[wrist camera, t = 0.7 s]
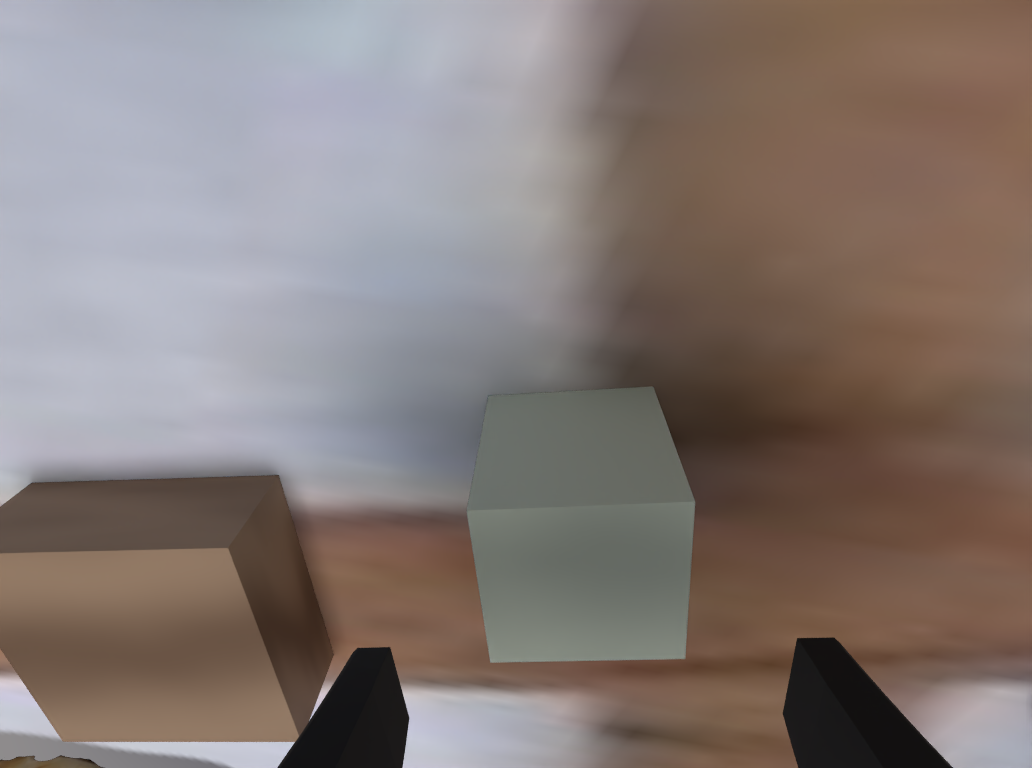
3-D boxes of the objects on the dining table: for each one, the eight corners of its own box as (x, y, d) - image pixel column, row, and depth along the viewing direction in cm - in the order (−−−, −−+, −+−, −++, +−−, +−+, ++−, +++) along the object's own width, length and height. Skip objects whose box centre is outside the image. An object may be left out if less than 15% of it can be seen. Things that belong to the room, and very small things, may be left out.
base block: (336, 647, 21) (301, 741, 18) (131, 649, 22) (63, 741, 19) (283, 468, 18) (228, 548, 15) (39, 476, 18) (-64, 554, 15)
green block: (649, 516, 18) (685, 658, 13) (504, 521, 18) (490, 662, 14) (652, 385, 16) (695, 501, 11) (488, 394, 16) (466, 510, 12)
